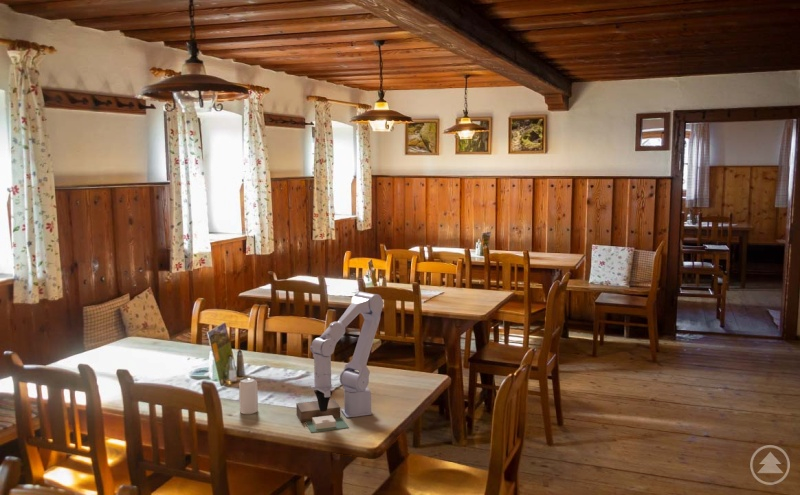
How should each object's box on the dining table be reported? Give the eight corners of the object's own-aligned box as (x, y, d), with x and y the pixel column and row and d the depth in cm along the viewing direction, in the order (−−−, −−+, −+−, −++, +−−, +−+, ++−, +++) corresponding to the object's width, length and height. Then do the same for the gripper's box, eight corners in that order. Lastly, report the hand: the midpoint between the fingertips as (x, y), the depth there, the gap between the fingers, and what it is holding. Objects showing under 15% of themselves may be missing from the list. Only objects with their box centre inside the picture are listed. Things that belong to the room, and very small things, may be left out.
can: (259, 408, 247) (258, 376, 246) (256, 414, 241) (255, 382, 239) (241, 408, 247) (240, 377, 245) (238, 415, 240) (237, 382, 239)
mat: (341, 418, 237) (341, 417, 237) (348, 427, 228) (348, 427, 228) (305, 422, 233) (305, 421, 233) (311, 432, 224) (311, 432, 224)
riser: (334, 409, 246) (334, 398, 245) (340, 418, 237) (340, 407, 237) (296, 413, 241) (296, 403, 241) (301, 422, 233) (301, 411, 232)
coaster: (335, 421, 228) (336, 426, 228) (331, 415, 234) (332, 420, 234) (315, 423, 226) (315, 429, 226) (312, 417, 232) (312, 423, 232)
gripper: (307, 367, 235) (307, 405, 236) (315, 380, 221) (316, 419, 223) (326, 365, 237) (327, 402, 239) (336, 377, 223) (336, 417, 225)
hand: (323, 410), depth 231 cm, fingers closed
